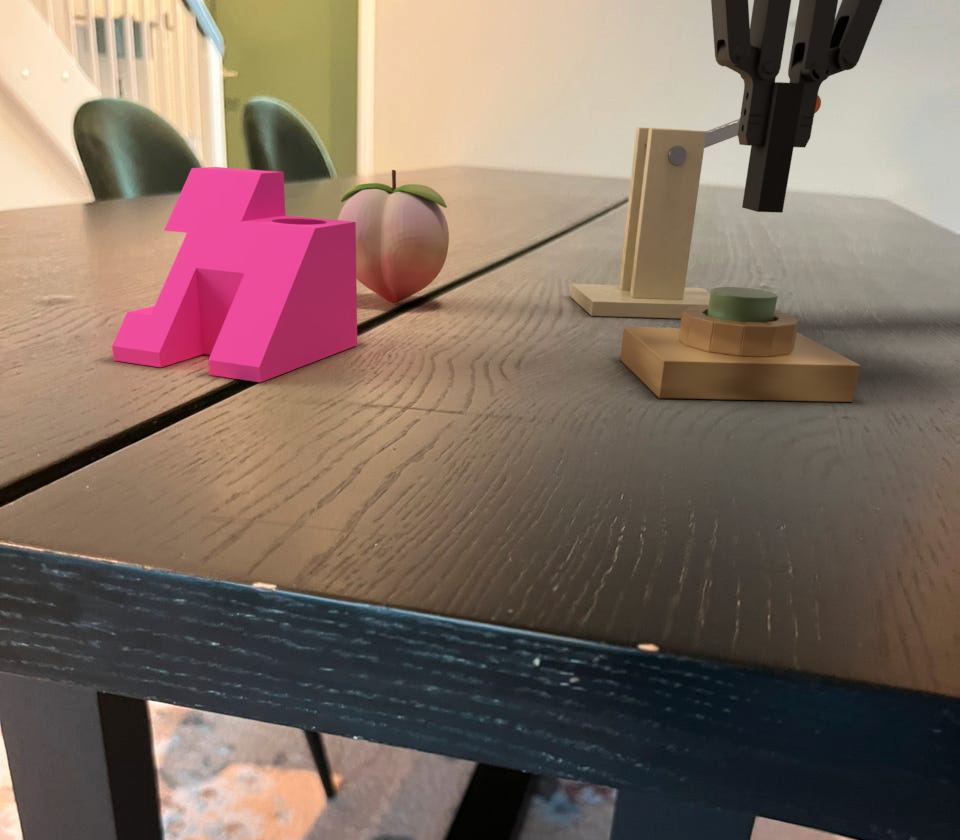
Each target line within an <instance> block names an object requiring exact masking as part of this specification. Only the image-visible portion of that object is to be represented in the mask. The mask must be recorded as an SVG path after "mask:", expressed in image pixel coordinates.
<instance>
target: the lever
mask: <svg viewBox="0 0 960 840" xmlns="http://www.w3.org/2000/svg"><path fill="white" fill-rule="evenodd" d="M821 106H822V99H821V97H820V95H818V96H817V102H816V108H815V113H814V115H815V114H816V113H817V112H819V110H820V108H821ZM739 124H740V118H738V119H735V120H732V121H729V122H727V123H725V124H722V125H719V126H717V127H714V128H712V129H709V130H705V131H706V138H705V146H704V149H706V148H709V147H711V146H713V145H717V144H719V143H722V142H724V141H727V140H729V139H730V140H731V139H732V138H735V137H738V129H739ZM645 149H647V144H645Z"/></svg>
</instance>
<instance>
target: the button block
mask: <svg viewBox="0 0 960 840" xmlns="http://www.w3.org/2000/svg"><path fill="white" fill-rule="evenodd" d="M708 307H709V305H701V306H691V307H688V308H686V309H685V310H683V311H682V316H681V319H680V324H679V327H660V326H659V327H655V326H651V327H650V326H623V330H622V340H621V348H620V356H619V360H620V361H621V362H622V363H623V365H625V367H627V368H628V369H629V371H631V372H632V373H633V374H634V375H635V376H636V377H637V378H638V379H639V380H640V381H641V382H642V383H643V384H644V385H645V386H646V387H647V388H648V389H649V390H650V391H651V392H652V393H653V394H654V395H655V396H656V397H657V398H658V399H673V400H675V399H679V400H680V399H681V400H682V399H683V400H725V401H726V400H727V401H728V400H729V401H733V400H734V401H775V402H776V401H777V402H778V401H779V402H783V401H784V402H787V401H788V402H830V403H853V401H854V399H855V394H856V390H857V384H858V380H859V376H860V372H861V367H862V365H861V364H859V363H857V362H855V361H853V360H852V359H849V358H848V357H845V356H844V355H841V354H839V353H838V352H836V351H834V350H832V349H831V348H829V347H826V346H825V345H823V344H821V343H819V342H817V341H815V340H813V339H812V338H809V337H807V336H805V335H804V334H801V333H800V332H798V329H799V323H800V319H799V318H797V317H795V316H792V315H790V314H788V313H786V312H781V311H776V310H775V313H774V319H773V321H772V322H740V321H732V320H724V319H719V318H715V317H711V316H707V313H708Z"/></svg>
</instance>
